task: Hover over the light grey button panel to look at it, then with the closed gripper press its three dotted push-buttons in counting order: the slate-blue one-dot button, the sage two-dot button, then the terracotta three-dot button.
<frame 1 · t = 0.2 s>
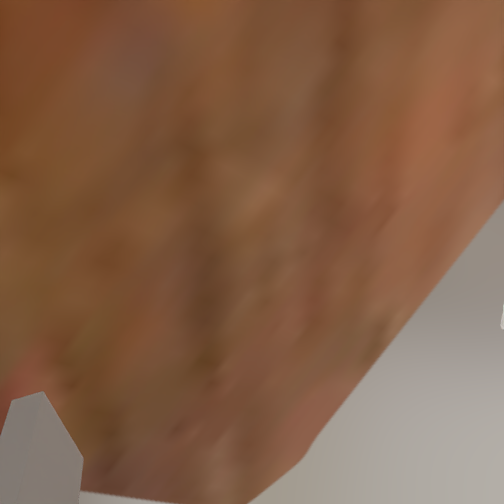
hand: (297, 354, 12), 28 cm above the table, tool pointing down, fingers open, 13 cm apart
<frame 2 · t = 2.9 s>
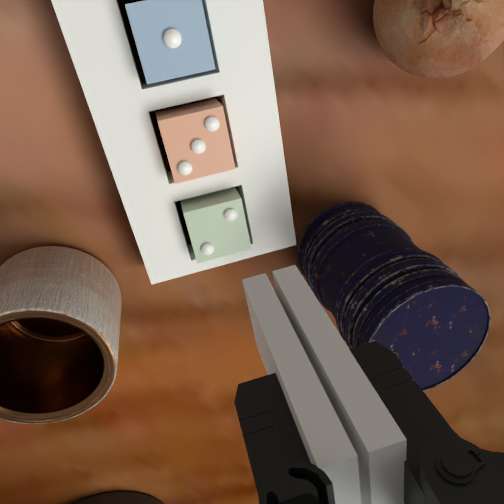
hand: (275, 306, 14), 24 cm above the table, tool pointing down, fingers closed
button two dots: (215, 223, 36), point 3 cm above the table, slide at 0.0 cm
button one dot: (170, 37, 29), point 3 cm above the table, slide at 0.0 cm
button panel: (191, 131, 35), on the table
navy blue cylinder: (342, 245, 44), on the table
planter: (58, 295, 39), on the table
button three dots: (195, 140, 32), point 3 cm above the table, slide at 0.0 cm
onion: (408, 6, 35), on the table
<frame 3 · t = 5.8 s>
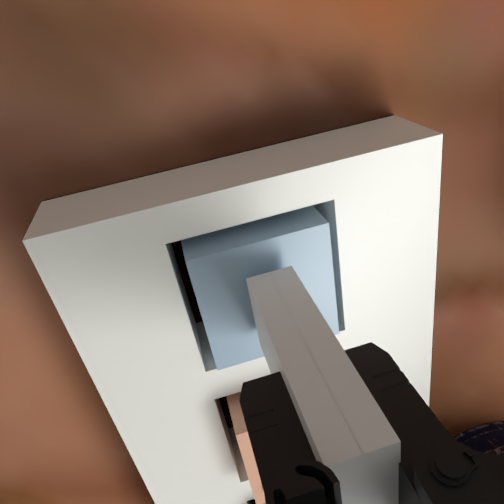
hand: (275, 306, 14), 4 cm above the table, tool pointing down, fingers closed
button one dot: (258, 278, 16), point 2 cm above the table, slide at 0.9 cm
button panel: (271, 374, 21), on the table
navy blue cylinder: (468, 469, 30), on the table
button three dots: (290, 423, 19), point 3 cm above the table, slide at 0.0 cm
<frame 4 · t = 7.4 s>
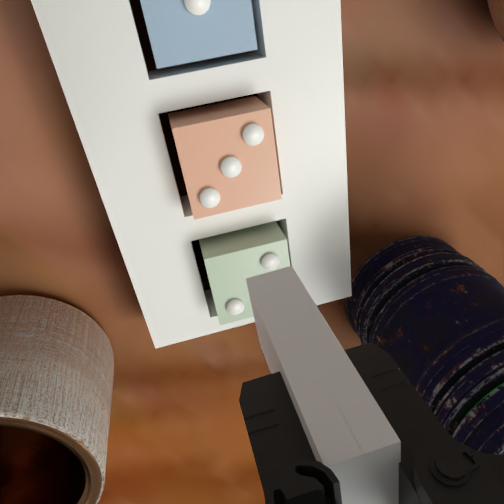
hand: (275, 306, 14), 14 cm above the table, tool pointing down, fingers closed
button two dots: (246, 270, 26), point 3 cm above the table, slide at 0.0 cm
button one dot: (193, 0, 20), point 2 cm above the table, slide at 1.1 cm
button panel: (216, 141, 25), on the table
navy blue cylinder: (402, 290, 34), on the table
planter: (30, 354, 29), on the table
button three dots: (225, 157, 22), point 3 cm above the table, slide at 0.0 cm
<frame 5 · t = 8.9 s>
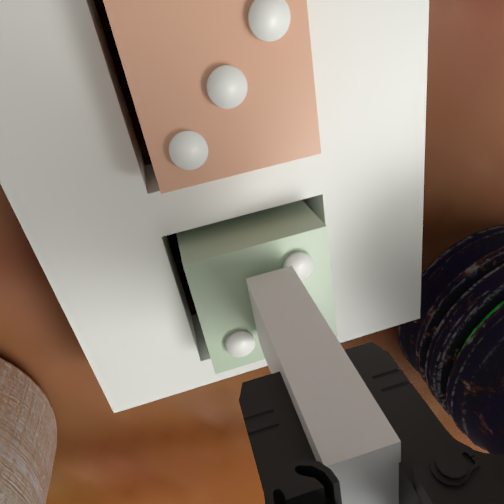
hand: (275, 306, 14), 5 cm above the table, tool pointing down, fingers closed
button two dots: (256, 281, 16), point 3 cm above the table, slide at 0.2 cm, touching gripper
button panel: (201, 68, 15), on the table
navy blue cylinder: (477, 304, 24), on the table
button three dots: (216, 79, 12), point 3 cm above the table, slide at 0.0 cm
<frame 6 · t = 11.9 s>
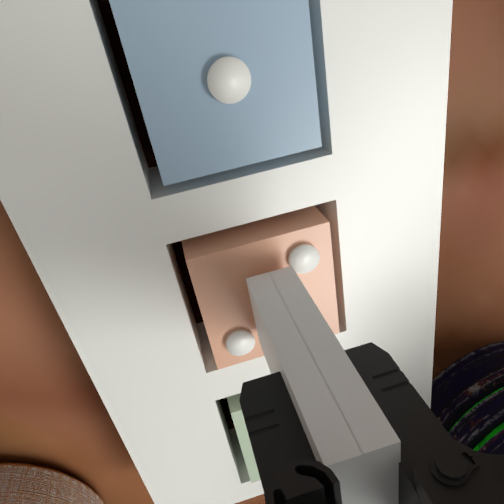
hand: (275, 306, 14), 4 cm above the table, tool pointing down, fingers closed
button two dots: (284, 405, 19), point 2 cm above the table, slide at 1.1 cm
button one dot: (218, 73, 12), point 2 cm above the table, slide at 1.1 cm
button panel: (247, 251, 18), on the table
navy blue cylinder: (479, 401, 26), on the table
button three dots: (259, 277, 16), point 2 cm above the table, slide at 1.0 cm, touching gripper
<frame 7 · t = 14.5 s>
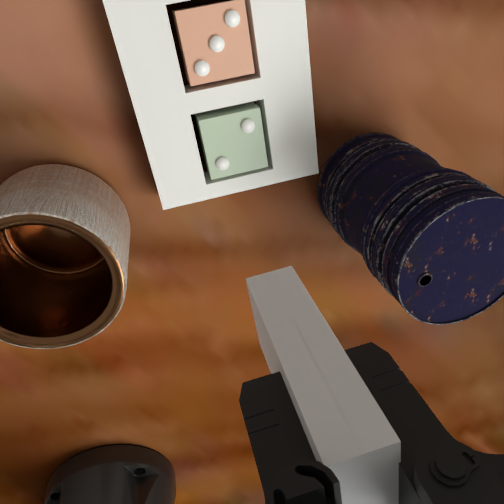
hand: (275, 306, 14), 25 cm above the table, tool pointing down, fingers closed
button two dots: (231, 139, 34), point 2 cm above the table, slide at 1.1 cm
button panel: (209, 40, 32), on the table
navy blue cylinder: (364, 183, 41), on the table
planter: (63, 222, 37), on the table
button three dots: (213, 42, 31), point 2 cm above the table, slide at 1.1 cm
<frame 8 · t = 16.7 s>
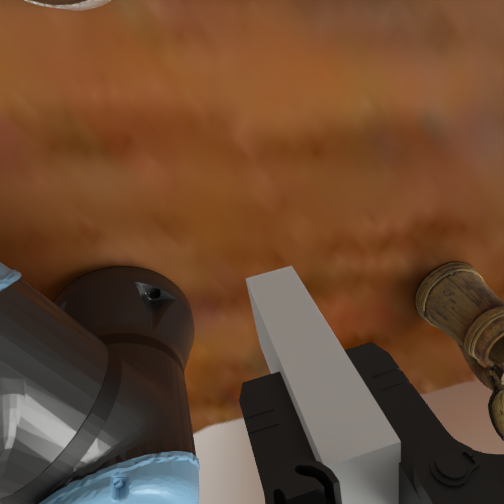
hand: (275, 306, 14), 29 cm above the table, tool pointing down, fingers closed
wooden mug: (440, 305, 58), on the table
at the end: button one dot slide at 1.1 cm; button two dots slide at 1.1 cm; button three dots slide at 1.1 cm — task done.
